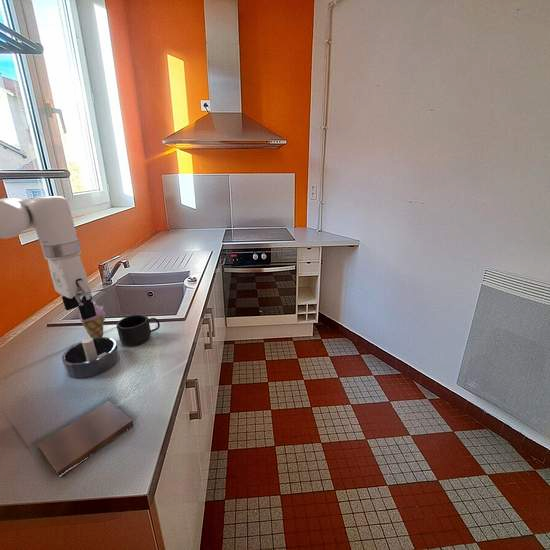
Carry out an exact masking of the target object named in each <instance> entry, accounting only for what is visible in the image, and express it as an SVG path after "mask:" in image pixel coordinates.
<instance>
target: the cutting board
mask: <svg viewBox="0 0 550 550" xmlns="http://www.w3.org/2000/svg"><path fill="white" fill-rule="evenodd" d="M133 425H134V426H135V424H134V420H133V419H132V418H130V417H129V416H128V415H127V414H126V413H125V412H123V411H122V410H121V409H120V408H118V406H117V405H115V404H114V403H113V402H112V401H110V400H108V401H106V402H104V403H102V404H100V405H99V406H97V407H96V408H94V409H93V410H91V411H90V412H88V413H86V414H84V415H83V416H81V417H80V418H78V419H76V420H74V421H72V422H71V423H69V424H67V426H65V427H63V428H61V429H59V430H57V431H56V432H54V433H53V434H51V435H50V436H48V437H46V438H45V439H43V440H42V441H40V442H38V443H37V444H36V446H37V448H38V450H39V452H40V451H41V452H42V453H41V452H40V453H41V455H42V456H43V455H44V456H45V457H44V456H43V457H44V459H45V460H46V459H47V460H48V461H47V460H46V461H47V463H48V462H49V463H50V464H51V465H50V464H49V463H48V464H49V465H50V467H51V466H52V467H53V468H52V467H51V468H52V470H53V469H54V470H55V471H56V472H55V471H54V470H53V471H54V472H55V474H56V473H57V474H58V475H61V474H62V473H64V472H65V471H66V470H68V469H69V468H71V467H73V466H74V465H76V464H78V463H80V462H81V461H82V460H84V459H85V458H87V457H89V456H90V455H91V454H93V453H95V452H96V451H97V452H99V451H100V450H102V449H103V448H104V447H106V446H107V445H109V444H110V443H111V442H113V441H114V440H115V438H116V437H117V436H118V437H120V436H121V435H123V434H124V433H125V432H127V431H128V430H130V429H131V428H132V427H134V426H133ZM130 427H131V428H130ZM129 428H130V429H129ZM127 429H128V430H127ZM126 430H127V431H126ZM124 431H125V432H124ZM123 432H124V433H123ZM122 433H123V434H122ZM120 434H121V435H120ZM119 435H120V436H119ZM118 437H117V438H118ZM117 438H116V439H117ZM113 439H114V440H113ZM112 440H113V441H112ZM109 442H110V443H109ZM108 443H109V444H108ZM106 444H107V445H106ZM105 445H106V446H105ZM102 447H103V448H102ZM101 448H102V449H101ZM99 449H100V450H99ZM98 450H99V451H98ZM97 452H96V453H97ZM96 453H95V454H96ZM93 455H94V454H93ZM90 457H91V456H90ZM90 457H89V458H90ZM57 474H56V475H57ZM58 475H57V476H58Z"/></svg>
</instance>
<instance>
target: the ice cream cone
mask: <svg viewBox="0 0 550 550" xmlns="http://www.w3.org/2000/svg"><path fill="white" fill-rule="evenodd" d="M93 304H94V308H95V312H96V316H94V317H91V318H89V319H86V320H82V318H81V314H80V311H79V309H78V310H77V313H78V314H79V319H80V322H81V324H82V326H83V328H84V329H85V331H86V332H87V335H89V338H99V337H104V322H105V320H106V318H105V317H106V315H107V314H106V311H105V310H104V305H101V306H100V305H98V304H97V301H95V300H93Z"/></svg>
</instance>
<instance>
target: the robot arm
mask: <svg viewBox="0 0 550 550" xmlns="http://www.w3.org/2000/svg"><path fill="white" fill-rule="evenodd" d="M73 219H74V218H73V215H72V212H71V208H70V205H69V202H68V199H66V198H65V197H63V196H61V195H47V196H38V197H32V198H22V197H21V198H19V197H3V198H0V239H12V238H15V237H18V236H19V235H21V234H22V233H23V232H24V231H27V230H29V229H35V232H36V235H37V238H38V241H39V244H40V245H39V246H40V248H41V252H42V254H43V257H44V259H45V260H47V264H48V269H49V273H50V277H51V281H52V285H53V288H54V290H55V292H56V293H57V294H59V295H60V296H61V299H62V302H63V305H64V309H65V310H66V311H71V310H73V309H76V308H78V310H79V311H80V314H81V318H82V320H86V319H89V318H91V317H94V316H96V312H95V308H94V304H93V301H94V299H93V295H92V290H91V287H90V282H89V279H88V276H87V272H86V269H85V267H84V265H83V264H84V263H83V261H82V259H81V256H80V254H82V248H81V245H80V241H79V239H78V234H77V230H76V226H75V223H74V220H73Z"/></svg>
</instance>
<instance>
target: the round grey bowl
mask: <svg viewBox="0 0 550 550" xmlns="http://www.w3.org/2000/svg"><path fill="white" fill-rule="evenodd" d="M93 341H94V345H95V349H96V352H97V356H98V355H100V354H102V353H104V352H106V353H107V354H105V355H104V356H102V357H100V358H98V359H95V360H92V361H89V362H86V361H87V358H86V355H85V351H84V348H83V345H82V341H81V342H78V343H76V344H73V345H72V346H70V347H69V348H68V349H67V350H66V351H65V352H64V353H63V355H62V356H61V361H62V364H63V367H64V370H65V373H66V375H67V377H69V378H71V379H76V380H85V379H90V378H93V377H98V376H100V375H102V374H104V373H106V372H107V371H110V370H111V369H112V368H114V367H115V366H116V364H118V362H119V360H120V353H119V349H118V344H117V342H116V340H115V339H113V338H112V337H106V336H105V337H104V336H103V337H99V338H93Z"/></svg>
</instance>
